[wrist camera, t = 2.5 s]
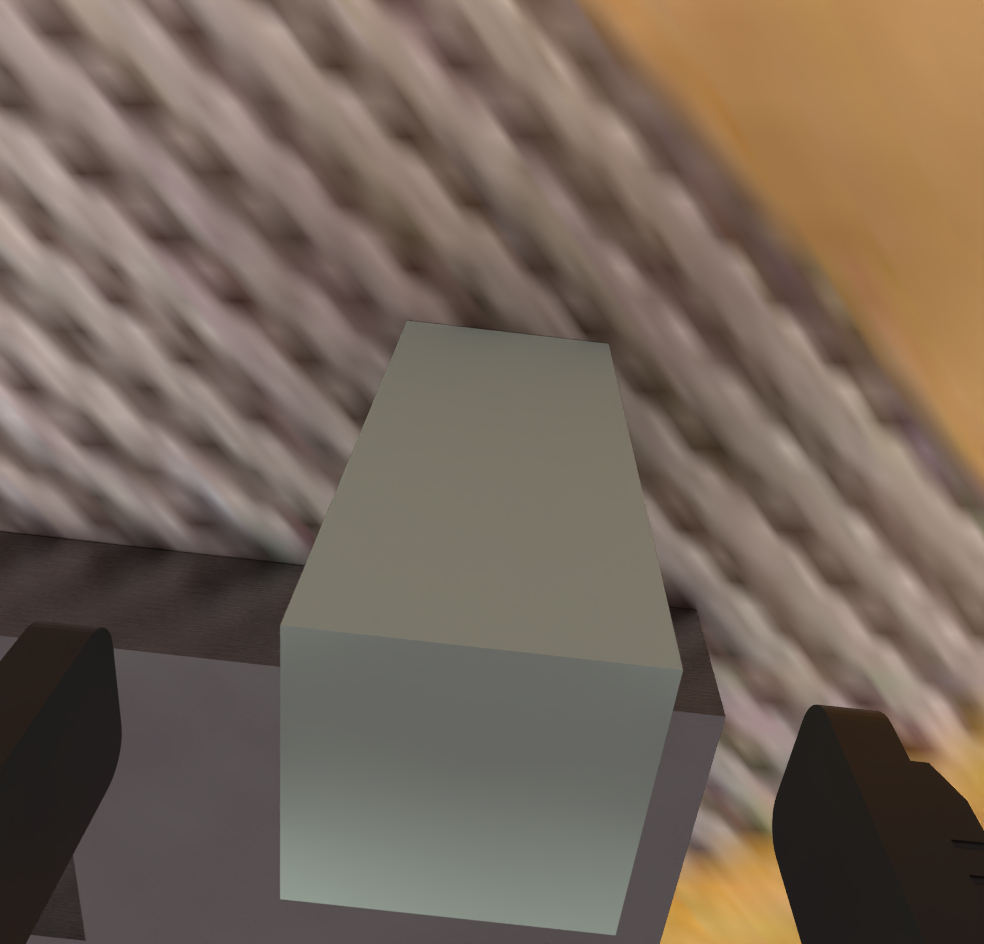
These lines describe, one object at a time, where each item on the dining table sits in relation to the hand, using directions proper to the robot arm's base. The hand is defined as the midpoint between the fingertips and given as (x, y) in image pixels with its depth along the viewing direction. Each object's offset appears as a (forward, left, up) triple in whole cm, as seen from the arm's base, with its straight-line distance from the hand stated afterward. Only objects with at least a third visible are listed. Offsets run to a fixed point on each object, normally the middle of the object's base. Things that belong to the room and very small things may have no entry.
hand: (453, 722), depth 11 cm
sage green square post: (0, 0, -9) cm, 9 cm away
